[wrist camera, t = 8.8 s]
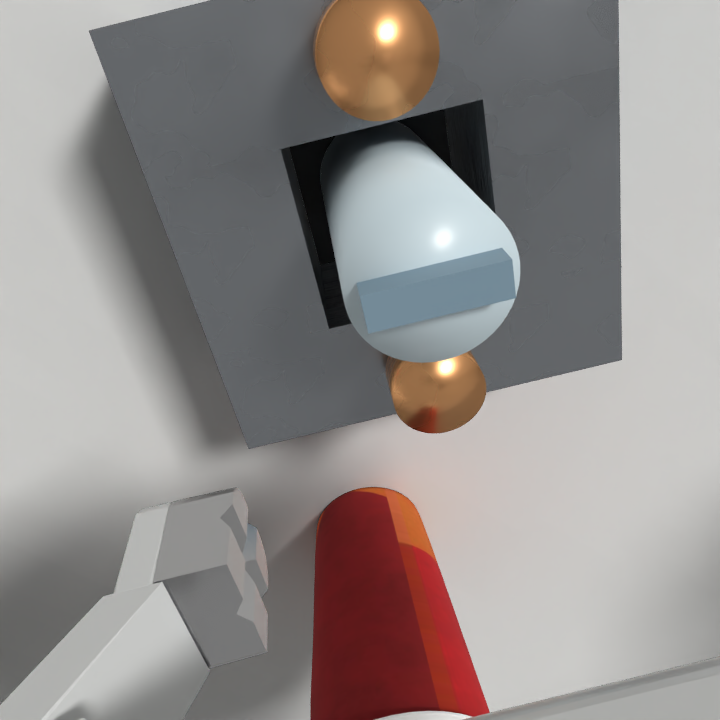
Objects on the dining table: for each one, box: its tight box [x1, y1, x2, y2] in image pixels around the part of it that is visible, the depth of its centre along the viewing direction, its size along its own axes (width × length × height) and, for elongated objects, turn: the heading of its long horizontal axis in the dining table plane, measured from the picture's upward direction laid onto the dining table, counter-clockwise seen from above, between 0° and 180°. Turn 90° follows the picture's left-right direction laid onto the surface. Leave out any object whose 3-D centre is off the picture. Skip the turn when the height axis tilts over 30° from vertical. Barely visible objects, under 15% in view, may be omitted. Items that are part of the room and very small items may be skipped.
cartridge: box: [320, 121, 520, 363], centre depth 20 cm, size 4×4×12 cm
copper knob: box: [386, 350, 486, 433], centre depth 22 cm, size 3×3×4 cm
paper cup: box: [311, 487, 490, 720], centre depth 28 cm, size 8×8×14 cm
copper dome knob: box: [313, 0, 440, 121], centre depth 17 cm, size 3×3×4 cm
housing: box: [89, 0, 622, 449], centre depth 23 cm, size 14×14×6 cm
